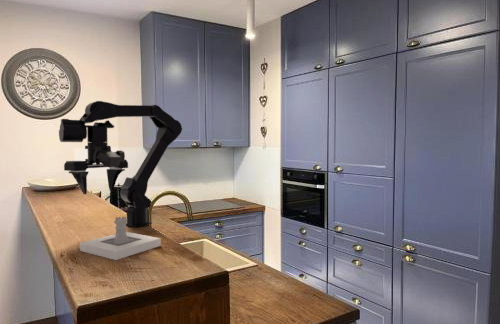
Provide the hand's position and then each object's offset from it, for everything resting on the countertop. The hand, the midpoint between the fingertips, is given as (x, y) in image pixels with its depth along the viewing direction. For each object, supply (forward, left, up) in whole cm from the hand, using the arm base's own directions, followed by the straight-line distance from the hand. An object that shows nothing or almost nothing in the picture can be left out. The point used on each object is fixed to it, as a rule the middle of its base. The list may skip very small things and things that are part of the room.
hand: (98, 192), depth 110 cm
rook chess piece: (+9, +22, -12) cm, 27 cm away
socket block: (+9, +22, -12) cm, 27 cm away
